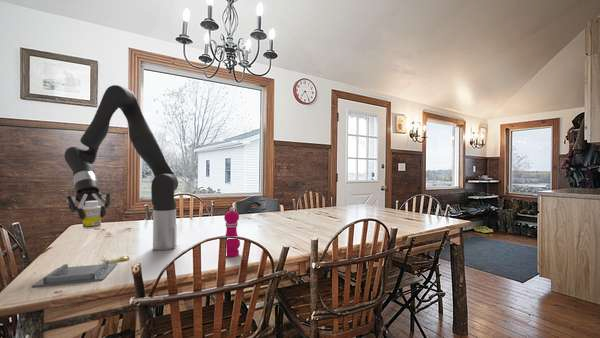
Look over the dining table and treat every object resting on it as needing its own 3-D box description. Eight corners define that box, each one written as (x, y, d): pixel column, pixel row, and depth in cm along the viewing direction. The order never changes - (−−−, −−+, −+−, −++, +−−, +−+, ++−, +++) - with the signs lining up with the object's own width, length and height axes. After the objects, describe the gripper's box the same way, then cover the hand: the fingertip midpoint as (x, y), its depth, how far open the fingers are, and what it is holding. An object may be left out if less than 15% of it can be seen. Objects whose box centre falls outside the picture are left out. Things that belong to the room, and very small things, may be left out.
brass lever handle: (127, 258, 106) (127, 255, 106) (130, 259, 104) (130, 257, 104) (107, 262, 101) (107, 260, 101) (110, 264, 99) (110, 261, 99)
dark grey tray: (117, 264, 99) (117, 258, 99) (102, 280, 86) (102, 273, 86) (57, 269, 93) (57, 263, 93) (32, 287, 80) (32, 280, 80)
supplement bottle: (85, 226, 104) (85, 200, 104) (102, 225, 107) (102, 199, 106) (80, 229, 99) (80, 202, 99) (98, 228, 102) (98, 201, 101)
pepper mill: (235, 258, 108) (236, 209, 107) (218, 256, 109) (219, 208, 109) (242, 252, 115) (243, 206, 114) (227, 251, 116) (227, 205, 116)
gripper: (63, 178, 102) (69, 213, 95) (108, 177, 113) (117, 209, 105) (62, 191, 106) (67, 226, 98) (105, 189, 117) (113, 220, 109)
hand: (93, 217), depth 102 cm, fingers closed on supplement bottle, 5 cm apart
